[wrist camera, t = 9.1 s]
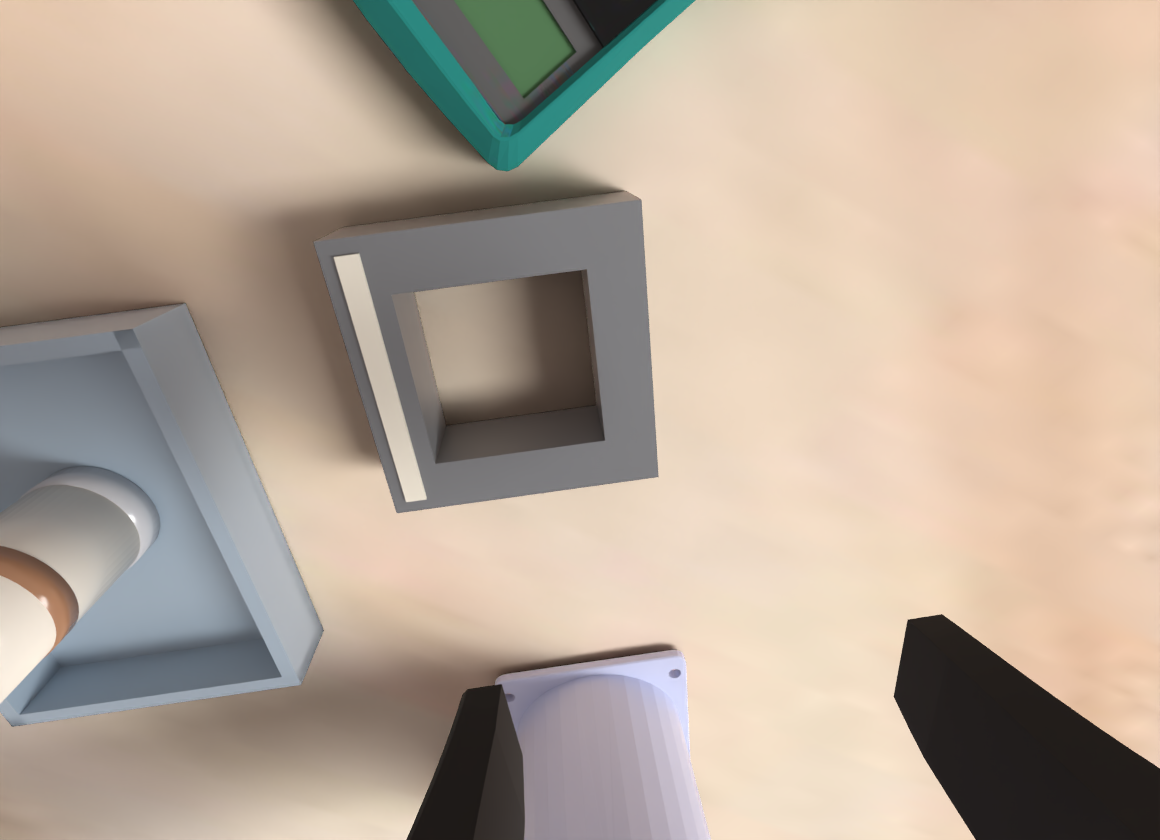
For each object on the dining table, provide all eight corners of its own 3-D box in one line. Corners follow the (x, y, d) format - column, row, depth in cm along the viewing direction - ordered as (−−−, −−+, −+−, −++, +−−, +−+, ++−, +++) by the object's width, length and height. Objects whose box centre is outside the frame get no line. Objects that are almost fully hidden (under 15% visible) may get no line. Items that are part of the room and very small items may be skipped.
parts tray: (323, 630, 23) (301, 684, 20) (64, 667, 22) (12, 726, 20) (185, 303, 17) (132, 329, 15) (-167, 348, 17) (-275, 381, 14)
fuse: (175, 554, 20) (-10, 769, 13) (64, 559, 20) (-179, 780, 13) (138, 463, 18) (-93, 655, 12) (18, 468, 18) (-288, 666, 11)
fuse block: (644, 438, 20) (659, 478, 18) (411, 470, 20) (396, 515, 17) (626, 190, 16) (641, 200, 14) (343, 227, 16) (311, 242, 14)
